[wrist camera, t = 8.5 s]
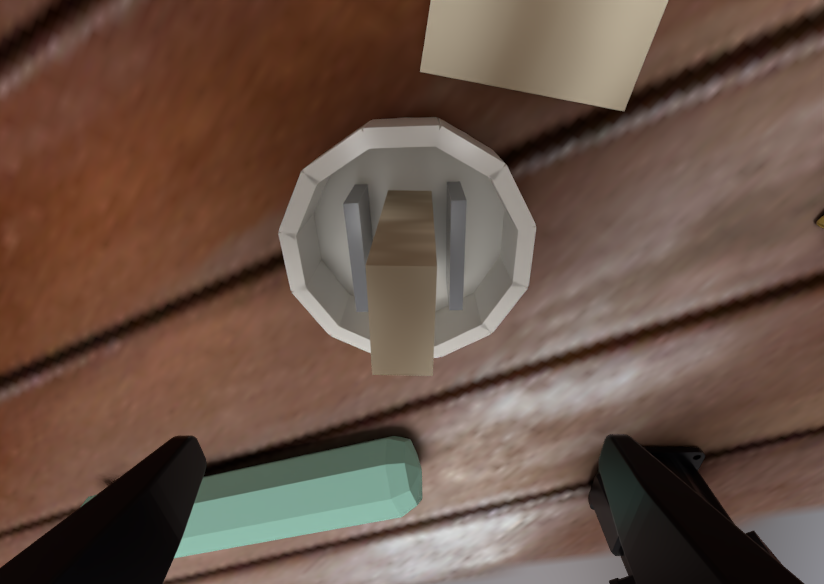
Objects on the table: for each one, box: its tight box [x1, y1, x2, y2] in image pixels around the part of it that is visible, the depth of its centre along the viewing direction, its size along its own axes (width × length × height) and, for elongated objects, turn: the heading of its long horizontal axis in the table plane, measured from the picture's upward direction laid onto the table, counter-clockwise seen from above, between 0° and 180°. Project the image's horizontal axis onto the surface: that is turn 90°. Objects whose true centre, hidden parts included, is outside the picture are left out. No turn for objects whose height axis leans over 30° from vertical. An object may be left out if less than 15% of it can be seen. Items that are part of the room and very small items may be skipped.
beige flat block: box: [420, 0, 668, 111], centre depth 14 cm, size 8×4×2 cm, turn 81°
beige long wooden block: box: [366, 190, 437, 376], centre depth 15 cm, size 2×4×8 cm, turn 0°
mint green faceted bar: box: [82, 436, 422, 558], centre depth 27 cm, size 6×6×25 cm
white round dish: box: [278, 117, 536, 358], centre depth 18 cm, size 10×10×3 cm
